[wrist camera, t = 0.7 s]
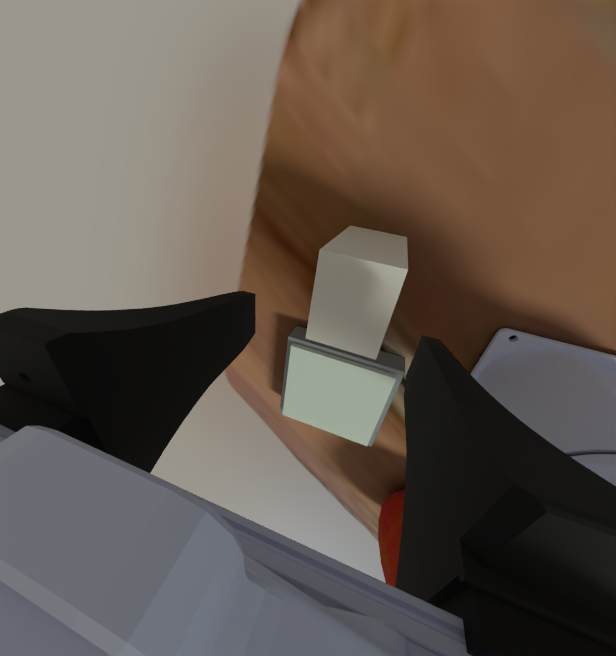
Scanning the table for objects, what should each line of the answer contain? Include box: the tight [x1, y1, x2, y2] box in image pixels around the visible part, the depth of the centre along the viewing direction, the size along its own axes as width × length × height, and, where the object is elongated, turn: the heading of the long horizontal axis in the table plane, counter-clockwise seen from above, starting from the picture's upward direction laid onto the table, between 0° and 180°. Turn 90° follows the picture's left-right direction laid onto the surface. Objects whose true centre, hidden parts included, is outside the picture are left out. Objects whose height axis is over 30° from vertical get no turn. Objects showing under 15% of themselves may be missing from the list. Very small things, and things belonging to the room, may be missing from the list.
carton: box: [306, 226, 408, 360], centre depth 16 cm, size 4×5×8 cm
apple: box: [378, 489, 405, 587], centre depth 26 cm, size 11×11×11 cm
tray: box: [280, 326, 405, 447], centre depth 25 cm, size 10×10×2 cm
